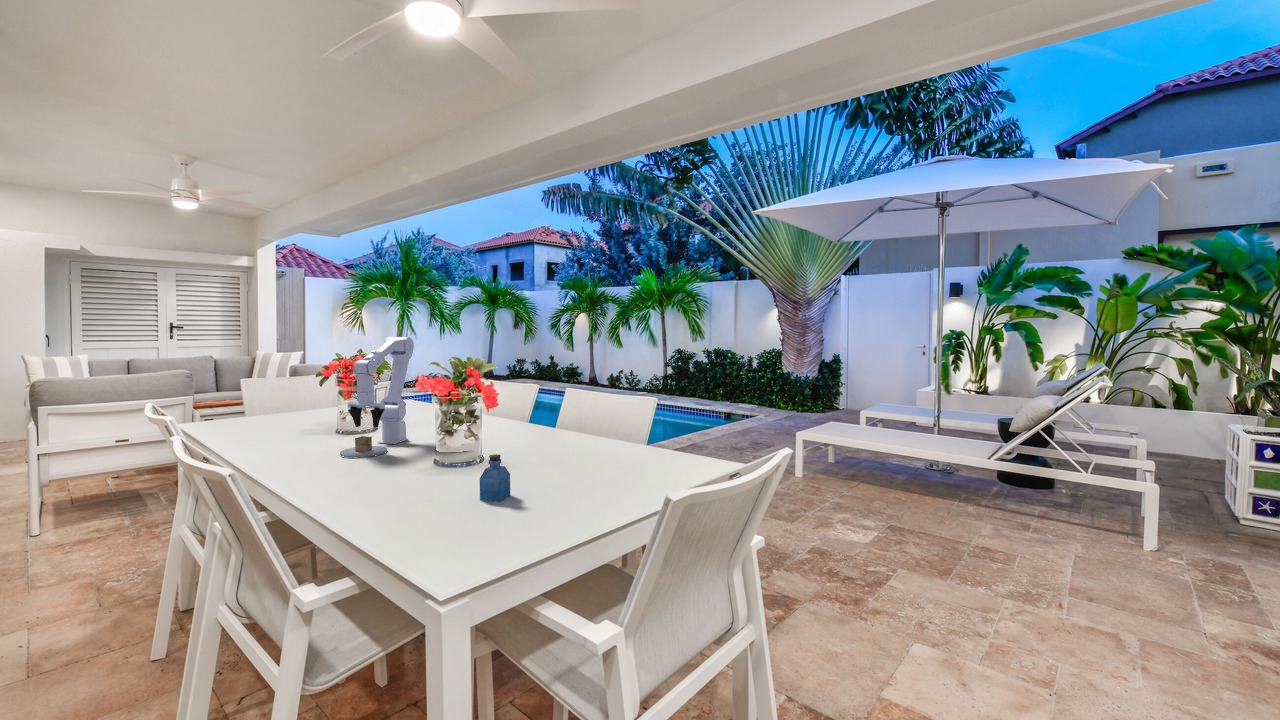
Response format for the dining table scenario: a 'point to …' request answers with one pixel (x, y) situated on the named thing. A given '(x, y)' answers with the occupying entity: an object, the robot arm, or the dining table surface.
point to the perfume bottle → (495, 481)
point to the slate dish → (352, 453)
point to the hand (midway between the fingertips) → (366, 427)
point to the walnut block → (363, 444)
